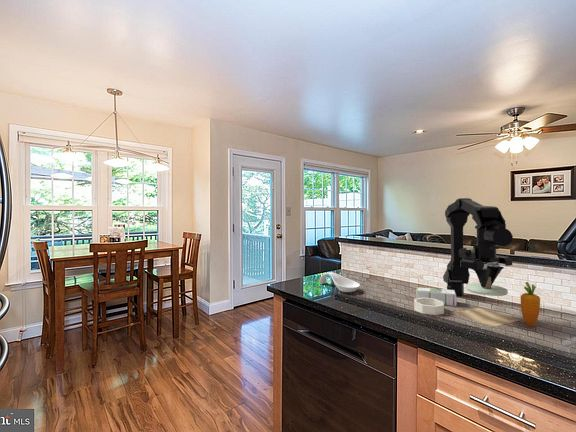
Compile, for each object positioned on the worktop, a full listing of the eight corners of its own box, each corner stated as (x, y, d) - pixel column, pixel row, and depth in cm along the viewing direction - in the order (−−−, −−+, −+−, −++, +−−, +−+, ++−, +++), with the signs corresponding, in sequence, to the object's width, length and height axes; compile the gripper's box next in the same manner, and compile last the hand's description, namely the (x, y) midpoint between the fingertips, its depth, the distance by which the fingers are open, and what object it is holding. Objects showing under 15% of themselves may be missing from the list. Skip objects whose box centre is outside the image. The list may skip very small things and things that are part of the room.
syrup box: (416, 304, 121) (456, 308, 115) (416, 290, 121) (456, 294, 115) (416, 299, 126) (454, 303, 120) (416, 286, 126) (455, 289, 120)
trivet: (480, 309, 113) (480, 307, 113) (520, 323, 100) (520, 320, 100) (454, 315, 108) (454, 312, 108) (492, 329, 95) (492, 326, 95)
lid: (481, 284, 111) (481, 271, 111) (515, 293, 100) (516, 278, 100) (458, 288, 107) (458, 274, 107) (491, 297, 96) (491, 282, 96)
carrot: (541, 333, 92) (541, 285, 91) (521, 329, 95) (521, 283, 94) (538, 327, 96) (538, 282, 96) (519, 324, 99) (519, 280, 98)
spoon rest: (365, 291, 141) (365, 276, 141) (349, 296, 134) (348, 281, 133) (329, 282, 159) (329, 269, 159) (313, 286, 152) (313, 272, 152)
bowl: (428, 306, 118) (428, 296, 118) (449, 314, 109) (449, 304, 108) (408, 309, 114) (408, 299, 114) (429, 318, 105) (429, 307, 105)
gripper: (482, 238, 114) (482, 278, 114) (446, 241, 107) (447, 283, 108) (513, 241, 103) (513, 285, 104) (475, 245, 97) (475, 291, 97)
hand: (486, 286), depth 103 cm, fingers closed on lid, 3 cm apart
